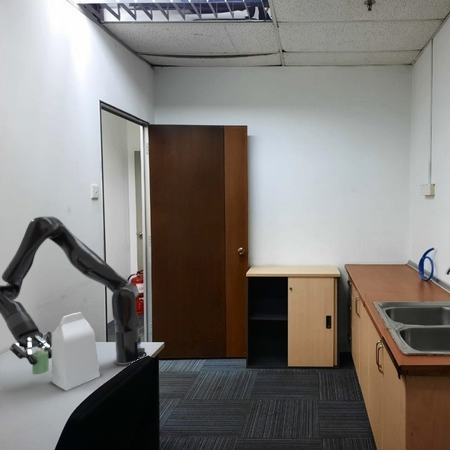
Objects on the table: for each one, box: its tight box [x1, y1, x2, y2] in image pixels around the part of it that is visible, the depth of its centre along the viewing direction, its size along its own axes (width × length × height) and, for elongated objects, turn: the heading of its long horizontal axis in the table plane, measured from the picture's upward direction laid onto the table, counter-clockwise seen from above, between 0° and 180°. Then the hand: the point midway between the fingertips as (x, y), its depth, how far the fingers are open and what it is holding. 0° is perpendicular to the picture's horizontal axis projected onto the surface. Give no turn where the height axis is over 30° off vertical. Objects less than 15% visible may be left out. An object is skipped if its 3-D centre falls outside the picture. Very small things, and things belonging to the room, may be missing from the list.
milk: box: [51, 311, 101, 392], centre depth 130 cm, size 12×12×26 cm
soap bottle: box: [31, 348, 50, 375], centre depth 129 cm, size 5×5×8 cm
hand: (43, 360), depth 128 cm, fingers closed on soap bottle, 5 cm apart
